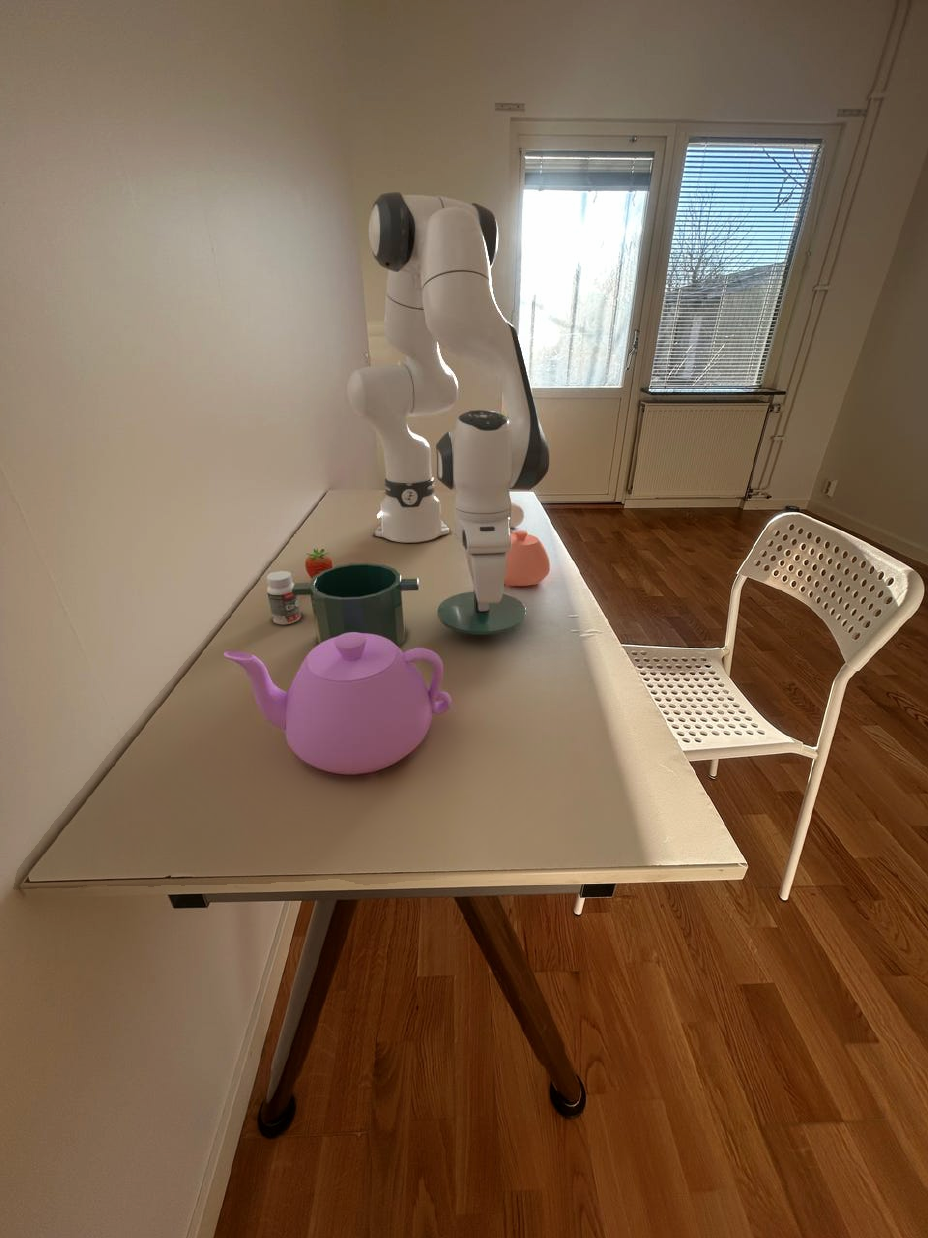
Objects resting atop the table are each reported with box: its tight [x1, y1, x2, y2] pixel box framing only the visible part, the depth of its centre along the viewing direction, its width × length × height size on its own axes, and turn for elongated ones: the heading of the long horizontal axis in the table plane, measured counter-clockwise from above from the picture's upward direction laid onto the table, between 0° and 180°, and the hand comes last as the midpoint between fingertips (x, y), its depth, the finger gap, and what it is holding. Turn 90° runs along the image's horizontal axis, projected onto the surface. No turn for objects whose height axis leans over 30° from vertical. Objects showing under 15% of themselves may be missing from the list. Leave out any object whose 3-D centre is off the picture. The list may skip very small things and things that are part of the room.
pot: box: [292, 562, 419, 648], centre depth 83 cm, size 14×19×10 cm
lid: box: [436, 589, 527, 636], centre depth 86 cm, size 15×15×5 cm
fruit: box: [304, 548, 334, 579], centre depth 102 cm, size 5×5×8 cm
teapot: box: [223, 632, 452, 776], centre depth 61 cm, size 25×18×14 cm
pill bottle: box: [266, 570, 301, 625], centre depth 89 cm, size 5×5×8 cm
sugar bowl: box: [504, 529, 551, 588], centre depth 104 cm, size 12×14×10 cm
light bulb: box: [511, 502, 525, 529], centre depth 137 cm, size 7×7×11 cm
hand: (481, 603), depth 86 cm, fingers closed on lid, 2 cm apart
